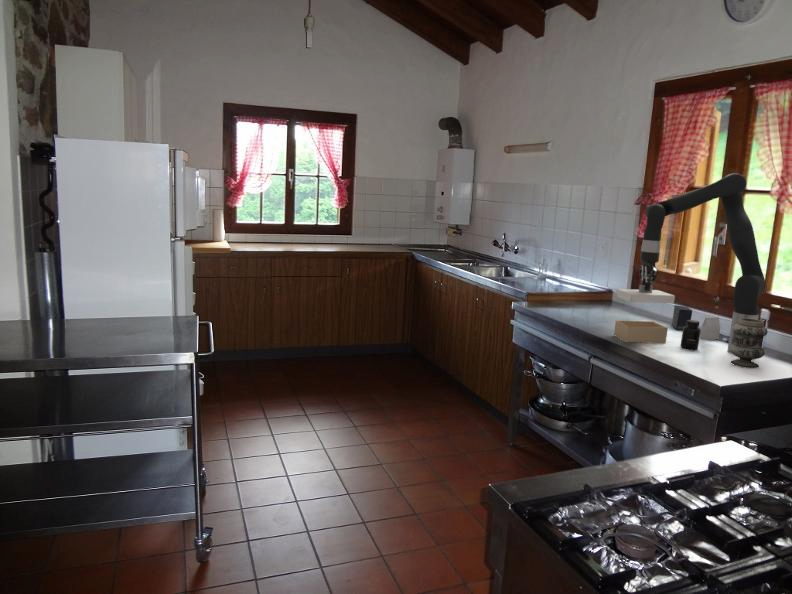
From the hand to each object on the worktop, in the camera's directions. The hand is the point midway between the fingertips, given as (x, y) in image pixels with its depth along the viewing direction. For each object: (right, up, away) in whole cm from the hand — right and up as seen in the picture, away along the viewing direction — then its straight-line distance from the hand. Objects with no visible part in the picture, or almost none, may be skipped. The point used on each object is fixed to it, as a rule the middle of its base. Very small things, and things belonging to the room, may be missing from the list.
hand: (645, 290), depth 273 cm
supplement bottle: (+15, -25, -8) cm, 30 cm away
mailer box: (-1, -22, +4) cm, 22 cm away
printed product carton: (+34, -22, +13) cm, 43 cm away
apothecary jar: (+27, -30, -29) cm, 49 cm away
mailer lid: (0, -4, +1) cm, 4 cm away
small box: (+30, -19, +32) cm, 47 cm away
